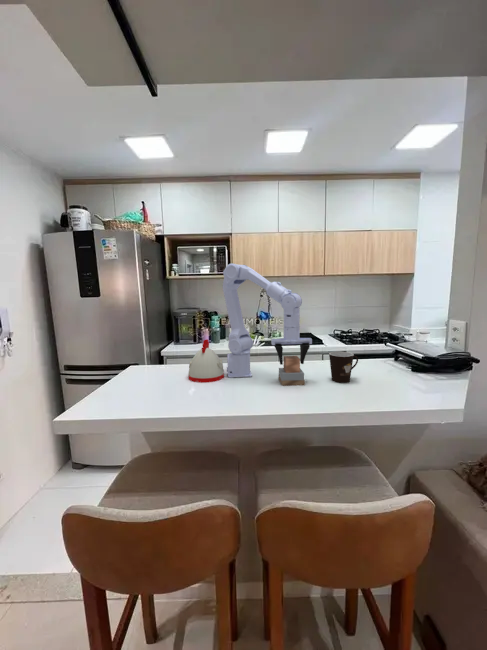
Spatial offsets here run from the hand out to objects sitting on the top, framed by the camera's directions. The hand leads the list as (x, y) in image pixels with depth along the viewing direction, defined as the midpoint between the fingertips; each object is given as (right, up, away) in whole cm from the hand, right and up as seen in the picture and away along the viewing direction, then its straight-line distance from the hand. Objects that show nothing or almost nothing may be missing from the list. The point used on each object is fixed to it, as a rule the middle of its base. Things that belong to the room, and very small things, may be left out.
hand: (291, 363), depth 112 cm
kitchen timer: (-32, -7, +9) cm, 34 cm away
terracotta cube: (0, -3, 0) cm, 3 cm away
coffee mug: (+20, -7, +2) cm, 21 cm away
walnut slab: (0, -8, +1) cm, 8 cm away
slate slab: (0, -5, +1) cm, 5 cm away
